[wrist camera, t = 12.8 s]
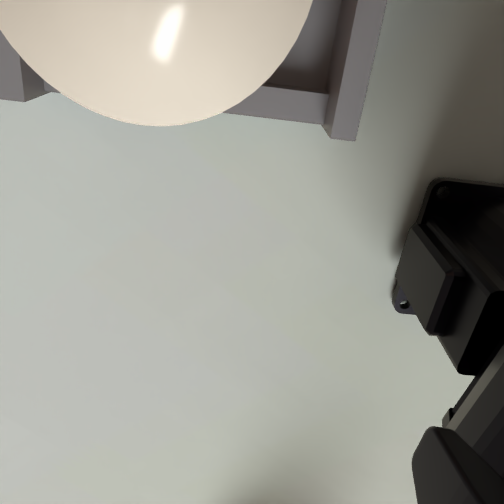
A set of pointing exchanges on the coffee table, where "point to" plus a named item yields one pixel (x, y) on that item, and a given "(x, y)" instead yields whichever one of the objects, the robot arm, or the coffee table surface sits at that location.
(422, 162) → the coffee table surface
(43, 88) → the lane
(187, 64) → the jar
